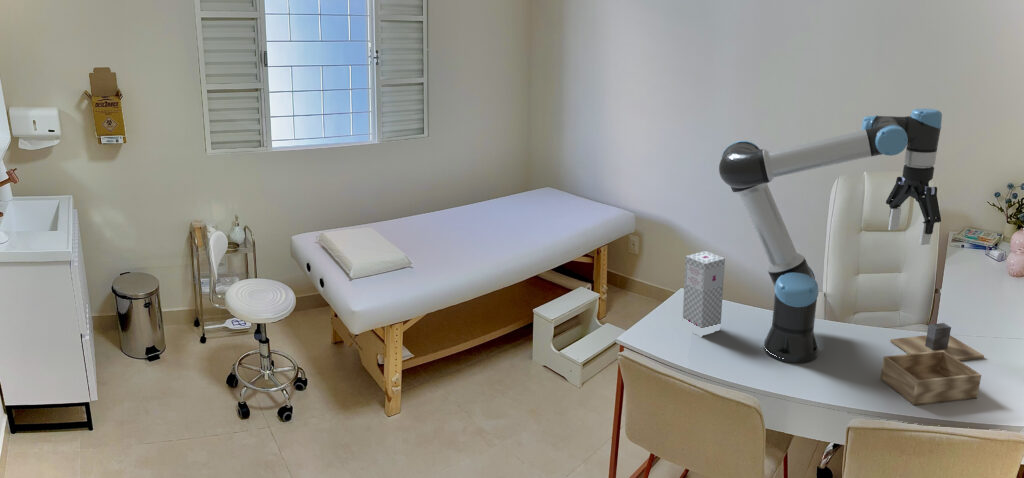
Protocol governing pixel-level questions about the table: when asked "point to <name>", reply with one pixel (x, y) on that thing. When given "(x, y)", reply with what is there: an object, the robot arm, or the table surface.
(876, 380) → the table surface
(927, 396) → the wooden box
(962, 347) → the lid
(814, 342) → the robot arm
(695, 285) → the box
